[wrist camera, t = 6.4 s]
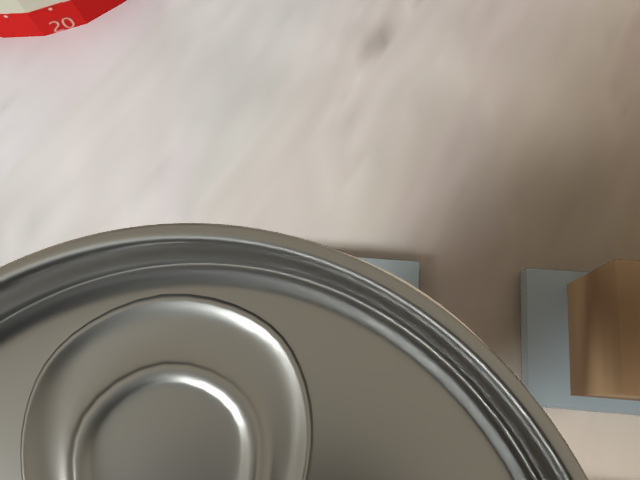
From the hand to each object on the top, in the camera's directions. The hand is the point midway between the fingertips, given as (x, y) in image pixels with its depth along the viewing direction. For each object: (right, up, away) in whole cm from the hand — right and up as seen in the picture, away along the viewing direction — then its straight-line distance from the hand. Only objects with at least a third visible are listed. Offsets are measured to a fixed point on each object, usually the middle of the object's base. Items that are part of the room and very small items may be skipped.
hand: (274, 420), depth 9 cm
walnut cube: (+12, -1, +12) cm, 17 cm away
